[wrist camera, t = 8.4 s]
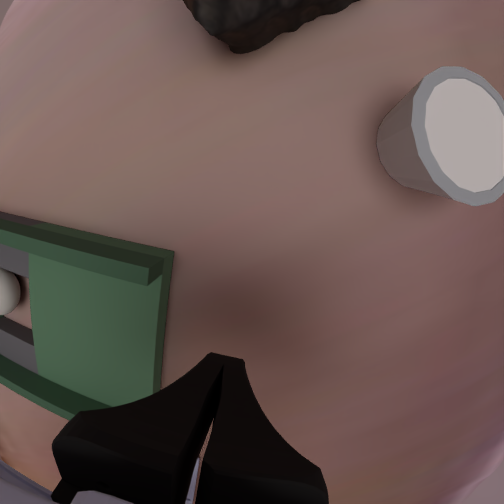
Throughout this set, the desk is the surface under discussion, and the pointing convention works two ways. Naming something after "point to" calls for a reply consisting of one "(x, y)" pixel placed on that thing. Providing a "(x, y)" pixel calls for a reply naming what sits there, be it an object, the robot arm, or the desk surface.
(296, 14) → the owl
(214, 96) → the desk surface
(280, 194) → the desk surface
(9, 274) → the golf ball
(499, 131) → the grey cup
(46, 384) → the putting green
